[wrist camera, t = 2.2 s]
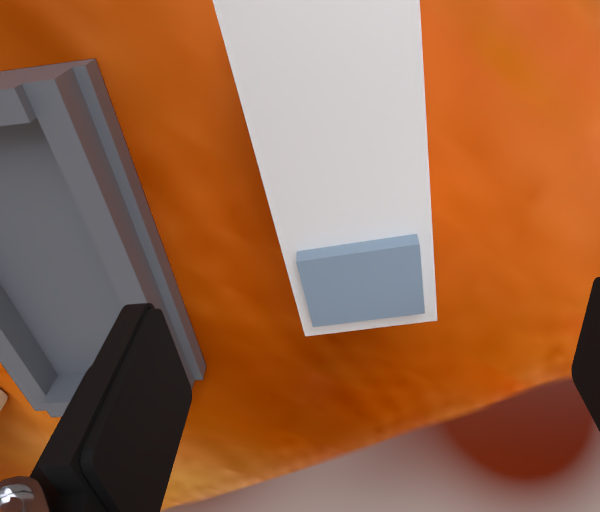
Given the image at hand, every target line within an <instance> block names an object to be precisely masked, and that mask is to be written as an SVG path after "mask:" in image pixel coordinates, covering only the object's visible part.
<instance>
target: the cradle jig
mask: <svg viewBox="0 0 600 512" xmlns="http://www.w3.org/2000/svg"><path fill="white" fill-rule="evenodd" d="M140 303H152V304H153V305H154V307H155V309H161V310H162V312H163V314H164V317H165V320H166V322H167V325H168V327H169V330H170V333H171V335H172V338H173V341H174V343H175V346H176V348H177V351H178V354H179V356H180V359H181V362H182V364H183V367H184V370H185V372H186V375H187V377H188V380H189V383H190V385H191V389H192V388H193V384H194V380H203V378H204V374H205V370H206V364H205V361H204V358H203V356H202V353H201V350H200V347H199V344H198V342H197V339H196V336H195V333H194V331H193V328H192V325H191V322H190V319H189V317H188V314H187V311H186V308H185V306H184V303H183V300H182V297H181V294H180V292H179V289H178V286H177V283H176V281H175V278H174V275H173V272H172V270H171V267H170V264H169V261H168V258H167V256H166V253H165V250H164V247H163V245H162V242H161V239H160V236H159V233H158V231H157V228H156V225H155V222H154V220H153V217H152V214H151V211H150V208H149V206H148V203H147V200H146V197H145V195H144V192H143V189H142V186H141V183H140V181H139V178H138V175H137V172H136V170H135V167H134V164H133V161H132V158H131V156H130V153H129V150H128V147H127V145H126V142H125V139H124V136H123V133H122V131H121V128H120V125H119V122H118V120H117V117H116V114H115V111H114V108H113V106H112V103H111V100H110V97H109V95H108V92H107V89H106V86H105V83H104V81H103V78H102V75H101V72H100V70H99V67H98V64H97V61H96V59H87V60H80V61H73V62H66V63H58V64H51V65H44V66H36V67H29V68H22V69H15V70H7V71H0V362H1V364H2V365H3V367H4V368H5V369H6V371H7V372H8V374H9V375H10V376H11V378H12V379H13V380H14V382H15V383H16V385H17V386H18V387H19V389H20V390H21V392H22V393H23V394H24V396H25V397H26V399H27V400H28V401H29V403H30V404H31V406H32V407H33V408H34V410H35V411H41V410H46V411H47V412H48V413H49V415H50V416H51V417H62V416H63V414H64V412H65V410H66V408H67V406H68V404H69V403H70V401H71V399H72V397H73V395H74V393H75V391H76V390H77V388H78V386H79V384H80V382H81V380H82V378H83V377H84V375H85V373H86V371H87V370H88V369H89V367H90V366H92V364H93V362H94V360H95V358H96V357H97V355H98V353H99V351H100V349H101V347H102V345H103V343H104V341H105V340H106V338H107V336H108V334H109V332H110V330H111V328H112V326H113V325H114V323H115V321H116V319H117V317H118V315H119V313H120V311H121V310H122V308H123V307H124V306H125V305H127V304H140Z"/></svg>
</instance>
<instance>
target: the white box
mask: <svg viewBox="0 0 600 512" xmlns="http://www.w3.org/2000/svg"><path fill="white" fill-rule="evenodd" d="M213 4H214V7H215V11H216V14H217V18H218V22H219V25H220V29H221V33H222V36H223V40H224V44H225V47H226V51H227V54H228V58H229V62H230V65H231V69H232V73H233V76H234V80H235V83H236V87H237V91H238V94H239V98H240V102H241V105H242V109H243V113H244V116H245V120H246V123H247V127H248V131H249V134H250V138H251V142H252V145H253V149H254V152H255V156H256V160H257V163H258V167H259V171H260V174H261V178H262V182H263V185H264V189H265V192H266V196H267V200H268V203H269V207H270V211H271V214H272V218H273V221H274V225H275V229H276V232H277V236H278V240H279V243H280V247H281V250H282V254H283V258H284V261H285V265H286V269H287V272H288V276H289V280H290V283H291V287H292V290H293V294H294V298H295V301H296V305H297V309H298V312H299V316H300V319H301V323H302V327H303V330H304V334H305V336H313V335H321V334H330V333H338V332H346V331H354V330H363V329H371V328H379V327H388V326H396V325H404V324H412V323H421V322H429V321H437V305H436V287H435V269H434V251H433V233H432V215H431V197H430V179H429V161H428V143H427V125H426V107H425V89H424V71H423V53H422V35H421V17H420V0H213Z"/></svg>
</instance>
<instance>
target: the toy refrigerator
mask: <svg viewBox="0 0 600 512" xmlns="http://www.w3.org/2000/svg"><path fill="white" fill-rule="evenodd" d="M7 399H8V396H7V394H5V393H4V392H3V391H2V390H1V389H0V411H1V409H2V408H3V406H4V405H5V403H6V402H7Z"/></svg>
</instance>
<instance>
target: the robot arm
mask: <svg viewBox="0 0 600 512" xmlns="http://www.w3.org/2000/svg"><path fill="white" fill-rule="evenodd" d="M572 378H573V381H574V383H575V385H576V388H577V390H578V391H579V393H580V395H581V397H582V399H583V401H584V403H585V405H586V406H587V408H588V410H589V412H590V414H591V416H592V418H593V420H594V422H595V423H596V425H597V427H598V429H599V431H600V277H597V278H596V279H595V280H594V282H593V286H592V290H591V294H590V298H589V301H588V305H587V309H586V313H585V317H584V321H583V325H582V329H581V333H580V336H579V340H578V344H577V348H576V352H575V356H574V360H573V364H572ZM191 400H192V389H191V385H190V383H189V380H188V377H187V375H186V372H185V370H184V367H183V364H182V362H181V359H180V356H179V354H178V351H177V348H176V346H175V343H174V341H173V338H172V335H171V333H170V330H169V327H168V325H167V322H166V320H165V317H164V314H163V312H162V310H161V309H155V307H154V305H153V304H152V303H140V304H127V305H125V306H124V307H123V308H122V310H121V311H120V313H119V315H118V317H117V319H116V321H115V323H114V325H113V326H112V328H111V330H110V332H109V334H108V336H107V338H106V340H105V341H104V343H103V345H102V347H101V349H100V351H99V353H98V355H97V357H96V358H95V360H94V362H93V364H92V366H90V367H89V369H88V370H87V371H86V373H85V375H84V377H83V378H82V380H81V382H80V384H79V386H78V388H77V390H76V391H75V393H74V395H73V397H72V399H71V401H70V403H69V404H68V406H67V408H66V410H65V412H64V414H63V416H62V417H61V419H60V421H59V423H58V425H57V427H56V429H55V430H54V432H53V434H52V436H51V438H50V440H49V442H48V443H47V445H46V447H45V449H44V451H43V453H42V455H41V456H40V458H39V460H38V462H37V464H36V466H35V468H34V470H33V471H32V473H31V475H30V477H24V476H17V477H13V478H9V479H5V480H3V481H1V482H0V512H160V509H161V506H162V502H163V499H164V495H165V492H166V488H167V485H168V481H169V478H170V474H171V471H172V467H173V464H174V460H175V457H176V453H177V450H178V446H179V443H180V440H181V436H182V433H183V429H184V426H185V422H186V419H187V415H188V412H189V408H190V405H191Z"/></svg>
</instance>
